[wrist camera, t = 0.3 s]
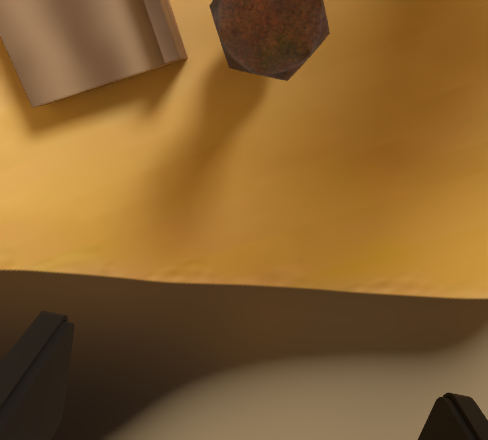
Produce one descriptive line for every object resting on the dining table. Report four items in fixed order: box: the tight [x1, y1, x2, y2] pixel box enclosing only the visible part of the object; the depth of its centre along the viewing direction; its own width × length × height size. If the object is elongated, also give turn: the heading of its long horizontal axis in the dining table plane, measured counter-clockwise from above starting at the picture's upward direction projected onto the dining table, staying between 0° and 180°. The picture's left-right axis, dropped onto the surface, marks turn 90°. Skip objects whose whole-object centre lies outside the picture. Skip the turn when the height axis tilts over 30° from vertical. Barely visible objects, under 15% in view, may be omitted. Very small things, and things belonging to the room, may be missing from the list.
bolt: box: [210, 0, 329, 81], centre depth 28 cm, size 6×5×15 cm
